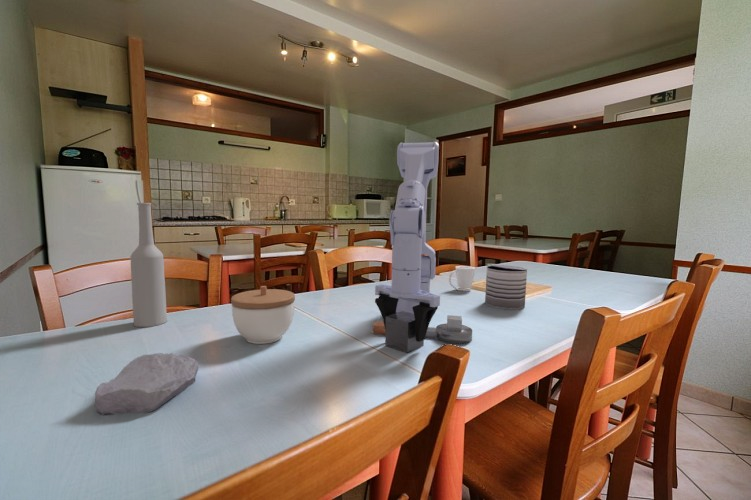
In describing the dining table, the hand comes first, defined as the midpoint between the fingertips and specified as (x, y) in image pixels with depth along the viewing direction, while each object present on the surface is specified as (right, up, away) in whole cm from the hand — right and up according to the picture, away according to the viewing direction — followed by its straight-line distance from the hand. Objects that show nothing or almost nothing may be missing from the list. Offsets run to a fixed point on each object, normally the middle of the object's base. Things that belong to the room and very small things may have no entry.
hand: (404, 335), depth 70 cm
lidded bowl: (-29, -2, +3) cm, 29 cm away
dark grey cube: (0, -2, 0) cm, 2 cm away
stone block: (-38, -4, -19) cm, 43 cm away
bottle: (-59, 0, +12) cm, 60 cm away
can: (+33, +1, +34) cm, 47 cm away
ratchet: (+4, -2, +6) cm, 8 cm away
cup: (+24, +3, +53) cm, 59 cm away
